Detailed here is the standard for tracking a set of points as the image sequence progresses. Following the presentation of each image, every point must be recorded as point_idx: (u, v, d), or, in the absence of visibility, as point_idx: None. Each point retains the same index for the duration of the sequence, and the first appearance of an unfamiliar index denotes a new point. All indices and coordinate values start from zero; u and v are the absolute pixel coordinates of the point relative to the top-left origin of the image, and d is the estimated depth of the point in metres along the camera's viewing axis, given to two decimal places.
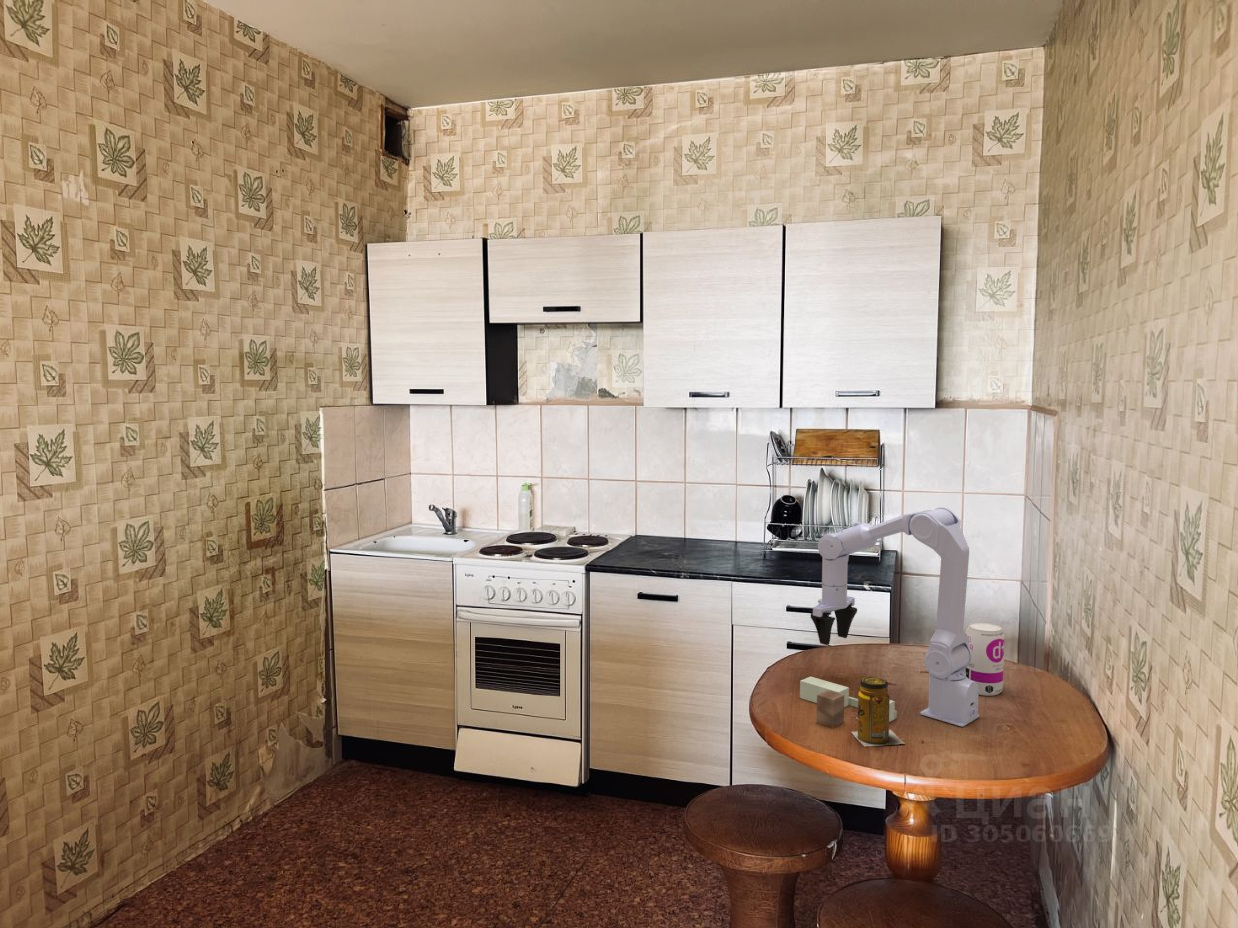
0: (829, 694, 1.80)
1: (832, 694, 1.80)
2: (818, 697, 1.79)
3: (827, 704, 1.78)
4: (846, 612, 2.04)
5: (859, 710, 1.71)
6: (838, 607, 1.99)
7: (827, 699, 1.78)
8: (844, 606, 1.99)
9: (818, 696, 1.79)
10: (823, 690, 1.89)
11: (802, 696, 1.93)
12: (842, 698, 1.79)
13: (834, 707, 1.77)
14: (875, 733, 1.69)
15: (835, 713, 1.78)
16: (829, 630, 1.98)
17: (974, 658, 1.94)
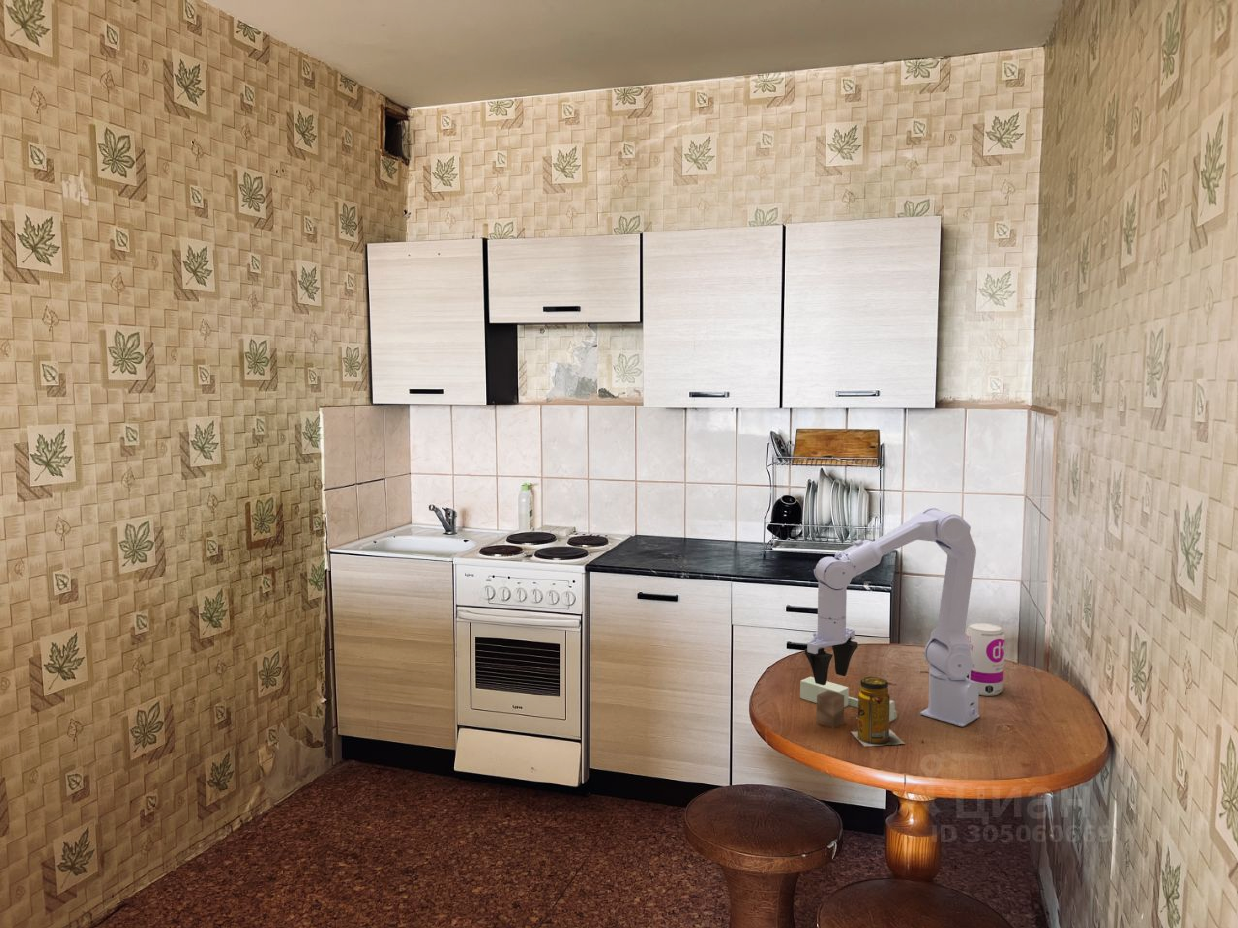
0: (829, 694, 1.80)
1: (832, 694, 1.80)
2: (818, 697, 1.79)
3: (827, 704, 1.78)
4: (845, 647, 1.80)
5: (859, 710, 1.71)
6: (836, 642, 1.75)
7: (827, 699, 1.78)
8: (843, 641, 1.76)
9: (818, 696, 1.79)
10: (823, 690, 1.89)
11: (802, 696, 1.93)
12: (842, 698, 1.79)
13: (834, 707, 1.77)
14: (875, 733, 1.69)
15: (835, 713, 1.78)
16: (826, 668, 1.74)
17: (974, 658, 1.94)
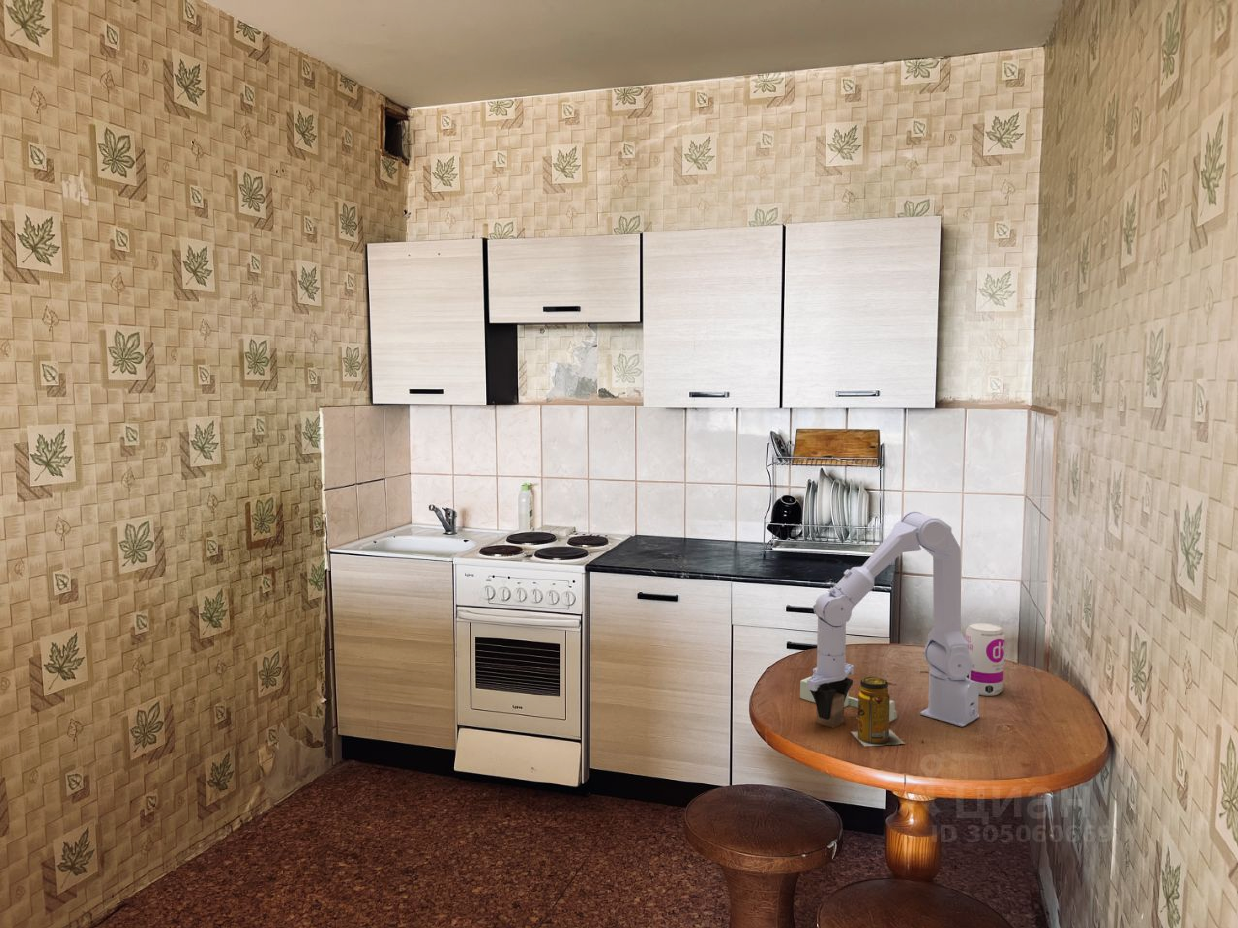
0: None
1: None
2: None
3: None
4: (840, 684, 1.80)
5: (859, 710, 1.71)
6: (835, 679, 1.76)
7: None
8: (842, 678, 1.76)
9: None
10: None
11: (802, 696, 1.93)
12: (842, 698, 1.79)
13: (834, 707, 1.77)
14: (875, 733, 1.69)
15: (835, 713, 1.77)
16: (829, 703, 1.76)
17: (974, 658, 1.94)
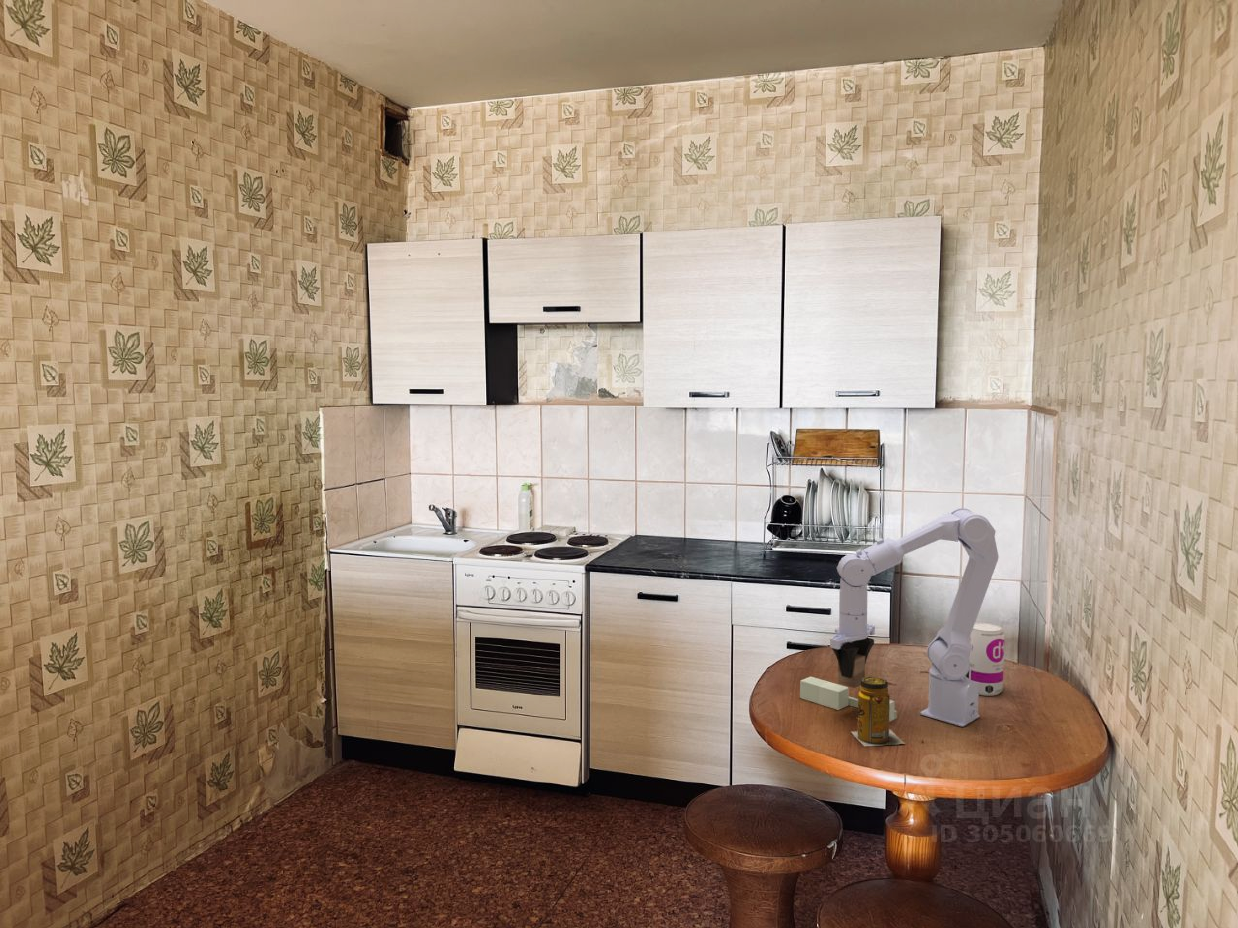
0: None
1: None
2: None
3: None
4: (862, 644, 1.84)
5: (859, 710, 1.71)
6: (858, 638, 1.80)
7: None
8: (864, 636, 1.80)
9: None
10: (823, 690, 1.89)
11: (802, 696, 1.93)
12: (863, 659, 1.83)
13: (856, 668, 1.81)
14: (875, 733, 1.69)
15: (857, 673, 1.82)
16: (852, 662, 1.80)
17: (974, 658, 1.94)
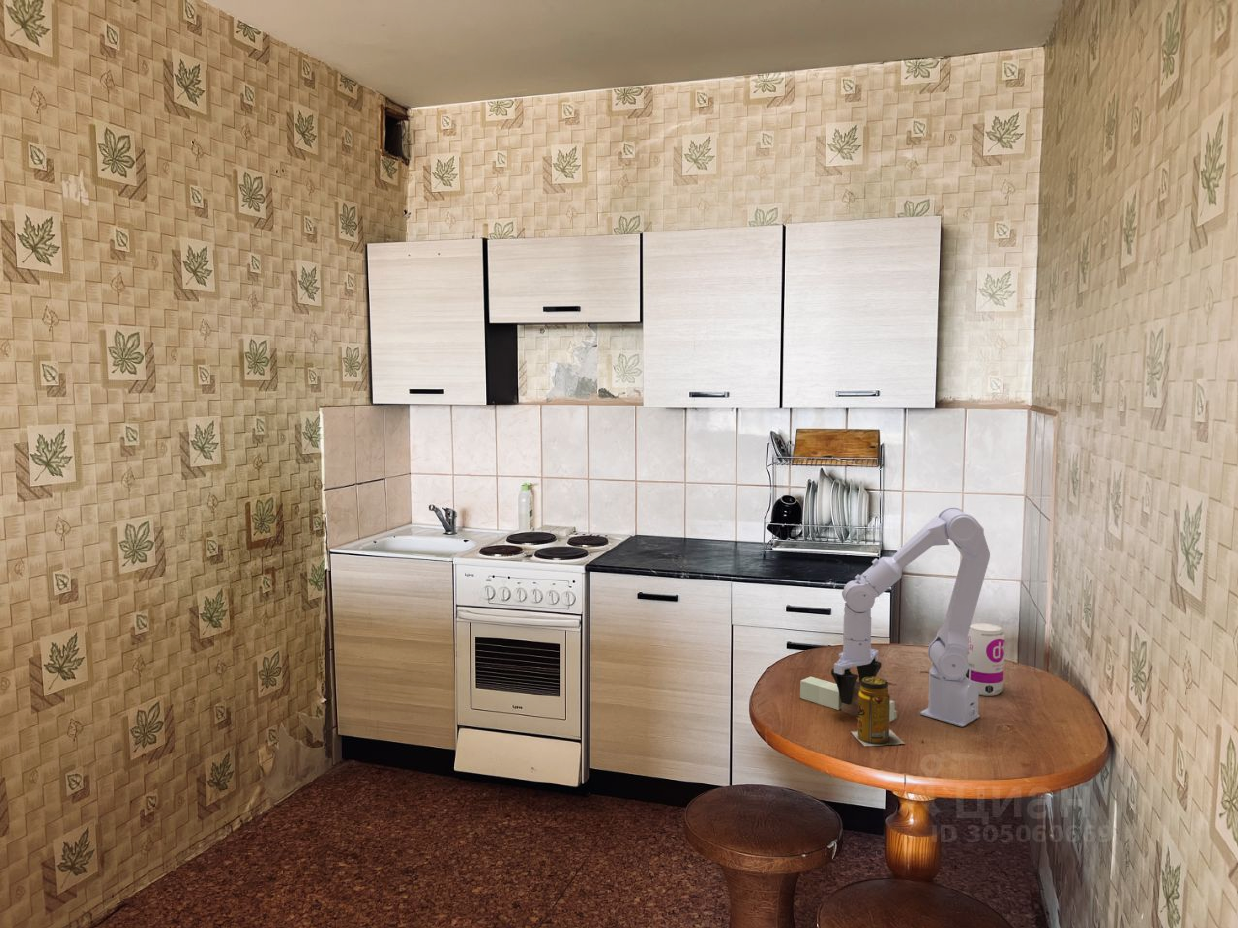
0: None
1: (857, 684, 1.86)
2: None
3: None
4: (869, 667, 1.87)
5: (859, 710, 1.71)
6: (861, 663, 1.81)
7: None
8: (868, 662, 1.82)
9: None
10: (823, 690, 1.89)
11: (802, 696, 1.93)
12: None
13: None
14: (875, 733, 1.69)
15: None
16: (851, 688, 1.81)
17: (974, 658, 1.94)
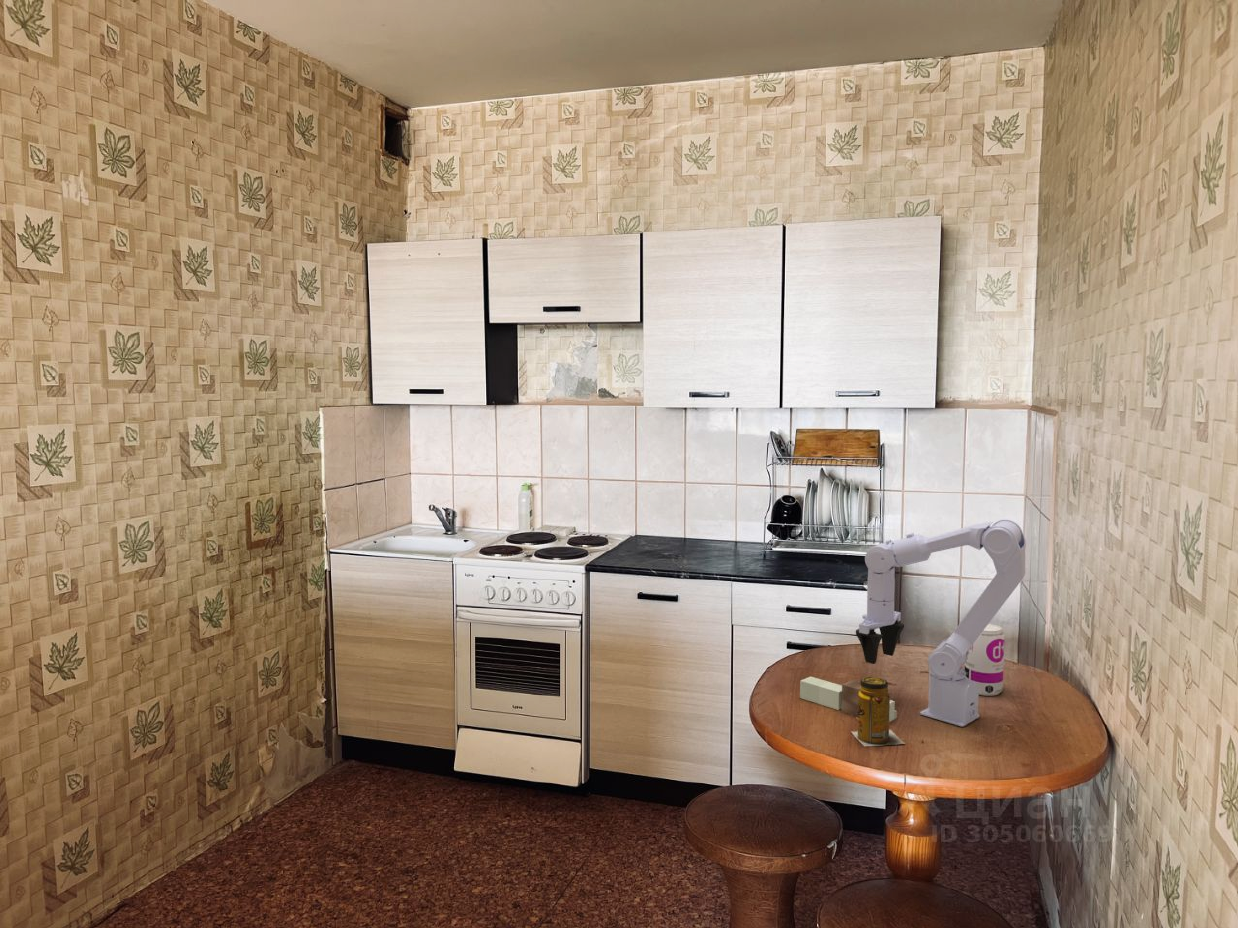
0: (854, 683, 1.86)
1: (857, 684, 1.86)
2: (843, 687, 1.85)
3: (852, 693, 1.84)
4: (892, 628, 1.91)
5: (859, 710, 1.71)
6: (885, 623, 1.86)
7: (852, 688, 1.84)
8: (891, 622, 1.87)
9: (843, 686, 1.85)
10: (823, 690, 1.89)
11: (802, 696, 1.93)
12: None
13: None
14: (875, 733, 1.69)
15: None
16: (876, 648, 1.85)
17: (974, 658, 1.94)
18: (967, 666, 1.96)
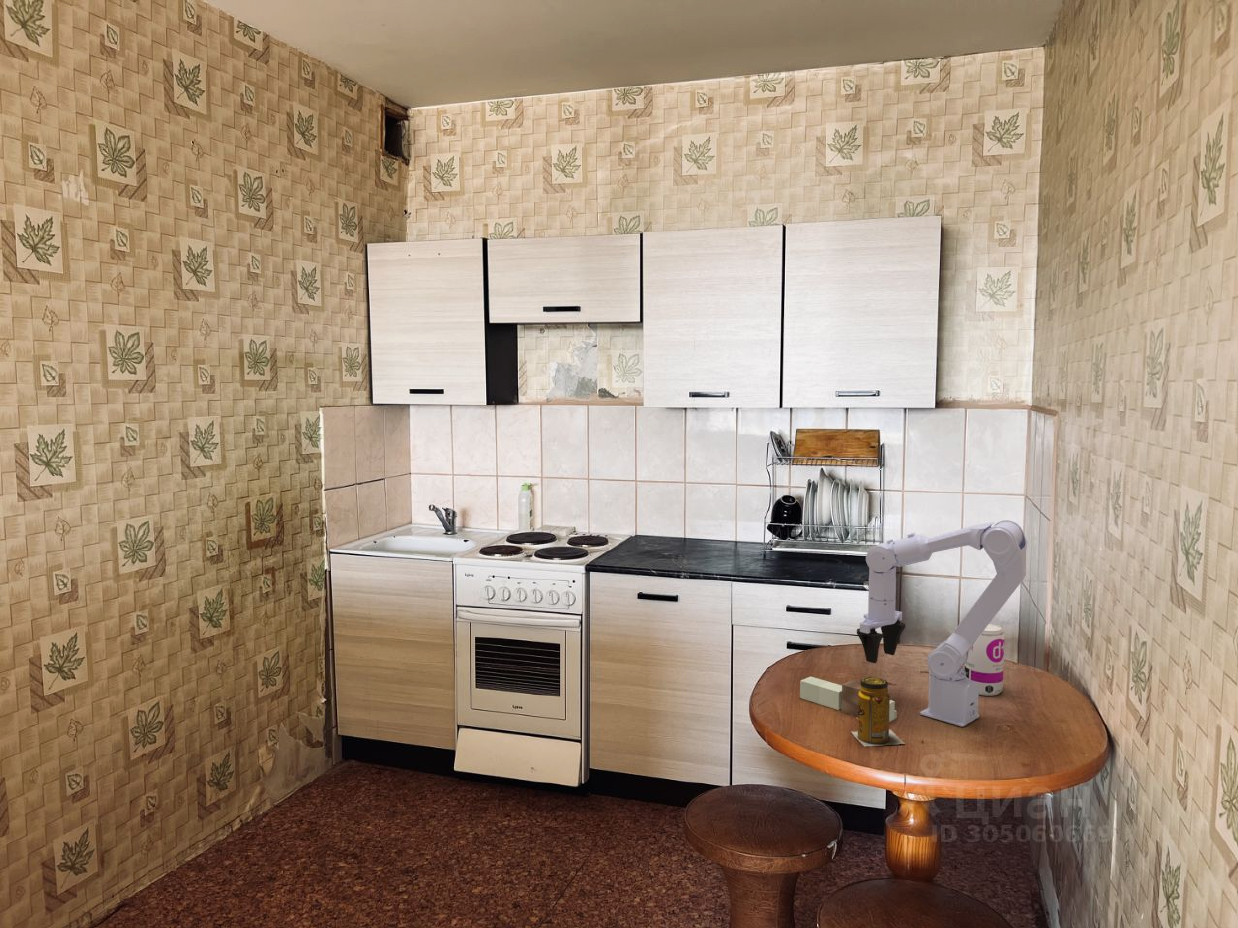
0: (854, 683, 1.86)
1: (857, 684, 1.86)
2: (843, 687, 1.85)
3: (852, 693, 1.84)
4: (893, 627, 1.92)
5: (859, 710, 1.71)
6: (886, 623, 1.86)
7: (852, 688, 1.84)
8: (893, 622, 1.87)
9: (843, 686, 1.85)
10: (823, 690, 1.89)
11: (802, 696, 1.93)
12: None
13: None
14: (875, 733, 1.69)
15: None
16: (877, 647, 1.86)
17: (974, 658, 1.94)
18: (967, 666, 1.96)
